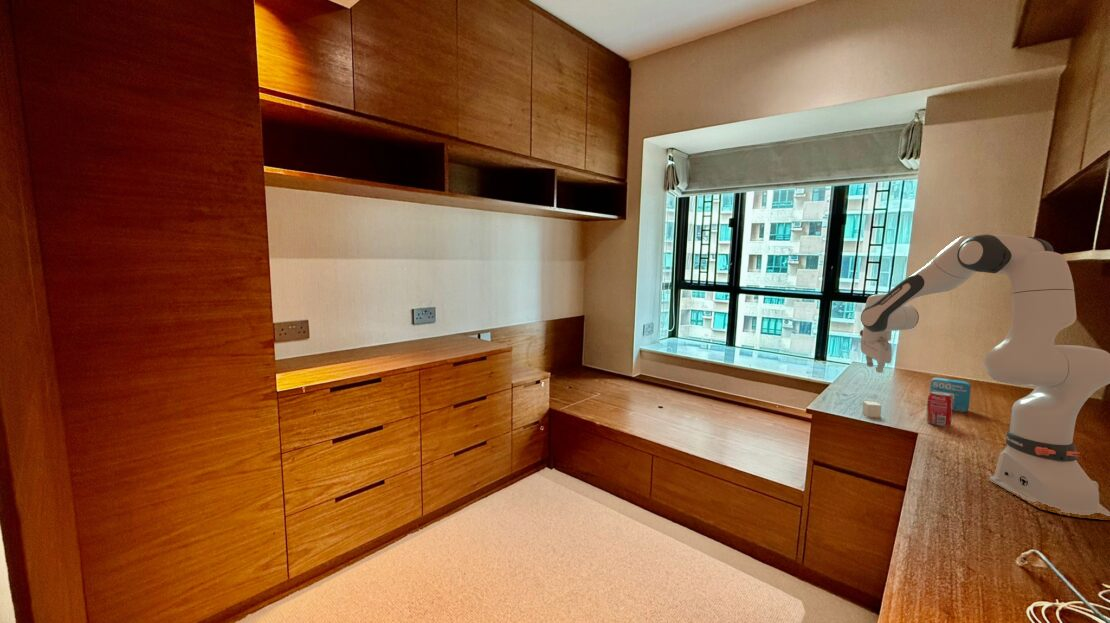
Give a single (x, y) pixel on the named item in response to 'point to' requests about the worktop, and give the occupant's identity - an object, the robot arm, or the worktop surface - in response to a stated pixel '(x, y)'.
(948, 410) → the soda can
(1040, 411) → the robot arm
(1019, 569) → the worktop surface
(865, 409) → the cream block
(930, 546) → the worktop surface
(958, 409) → the data package
